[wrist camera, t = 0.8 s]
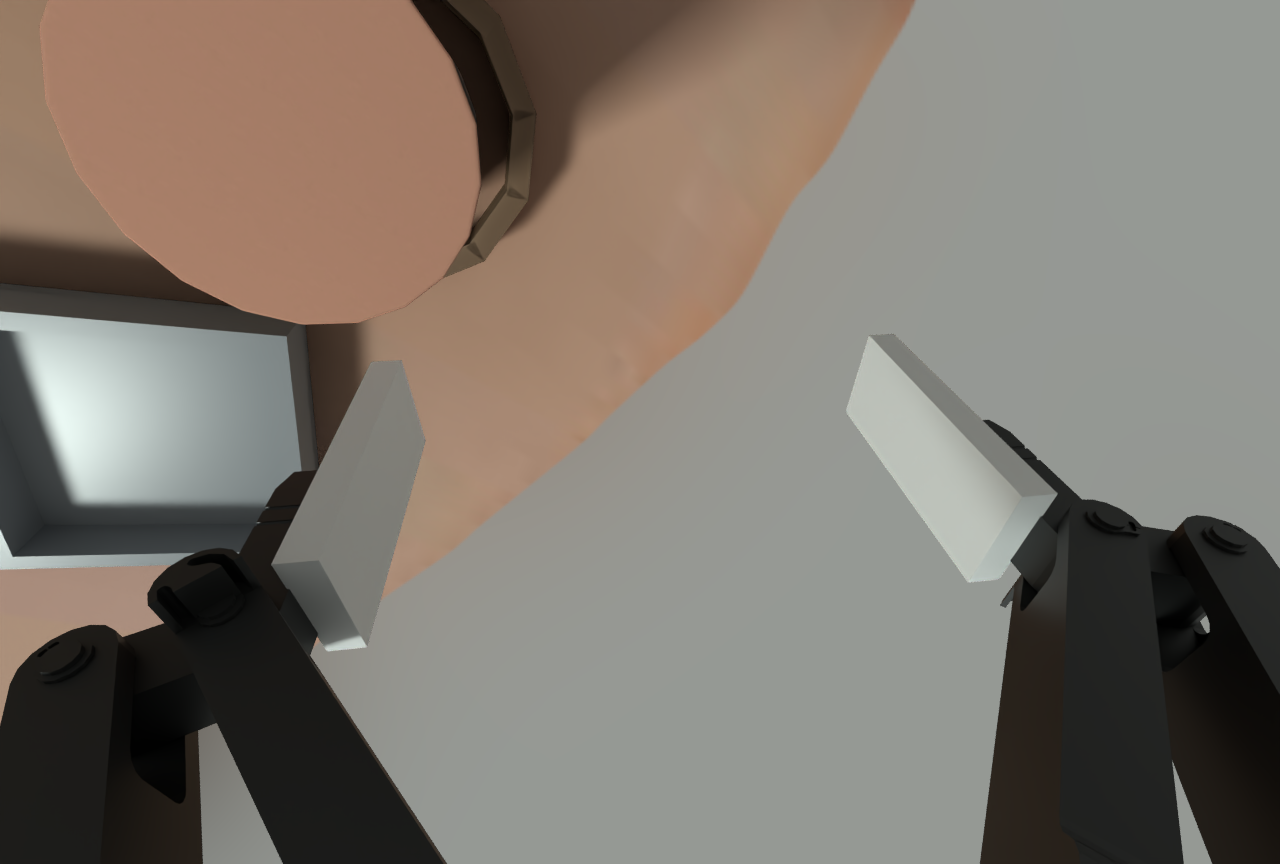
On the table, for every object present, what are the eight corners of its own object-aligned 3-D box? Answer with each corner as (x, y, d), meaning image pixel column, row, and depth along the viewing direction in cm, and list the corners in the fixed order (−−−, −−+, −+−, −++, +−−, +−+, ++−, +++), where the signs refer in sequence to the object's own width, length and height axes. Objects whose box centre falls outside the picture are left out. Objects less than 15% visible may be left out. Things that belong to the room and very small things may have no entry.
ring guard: (167, -130, 24) (131, -157, 21) (543, -16, 29) (549, -27, 27) (226, 251, 31) (205, 264, 29) (515, 287, 37) (518, 301, 34)
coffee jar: (497, 210, 34) (516, 297, 19) (316, 237, 32) (183, 355, 17) (448, -7, 28) (421, -124, 13) (225, 11, 26) (-92, -99, 12)
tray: (-63, 276, 29) (-132, 299, 25) (304, 313, 34) (286, 336, 31) (39, 527, 37) (-4, 569, 33) (324, 524, 42) (311, 561, 39)
